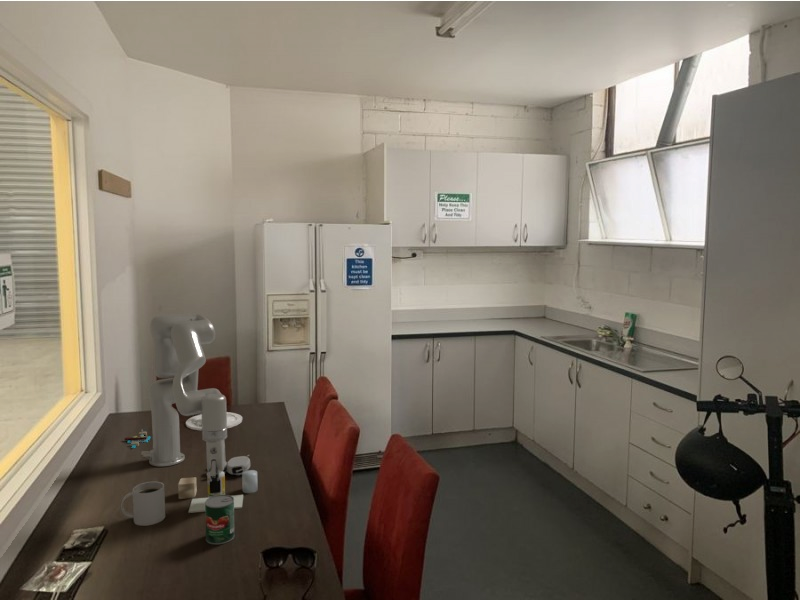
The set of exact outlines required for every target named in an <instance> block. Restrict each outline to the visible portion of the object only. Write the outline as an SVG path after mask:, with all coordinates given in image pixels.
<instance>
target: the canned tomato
mask: <svg viewBox="0 0 800 600" xmlns="http://www.w3.org/2000/svg"><path fill="white" fill-rule="evenodd" d="M232 496H233V495H230V494H225V495H216V496H213V497H210V498H209V497H207V498H208V499H207V500H206V501H205V516H204V519H205V541H206V542H207V543H208V544H209V545H224V544H226V543H229V542H230V541H232V540H234V538H235V531H236V530H235V509H234V498H233V497H232Z"/></svg>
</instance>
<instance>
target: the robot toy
mask: <svg viewBox="0 0 800 600" xmlns="http://www.w3.org/2000/svg"><path fill="white" fill-rule="evenodd" d="M249 456H250V454H248V455H242V456H234V457H232V458H230V459H229V460H228V461H226V462H225V467H224V470H223V472H224V473H225V474H226V473H228V474H230V475H236V476H240V475H241V476H242V473H243V472H244V471H248V470H249V469H250V468H251V466H252V465H251V459H250V458H249ZM208 473H209V472H208V471H207V473H206V476H207V475H208Z"/></svg>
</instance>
